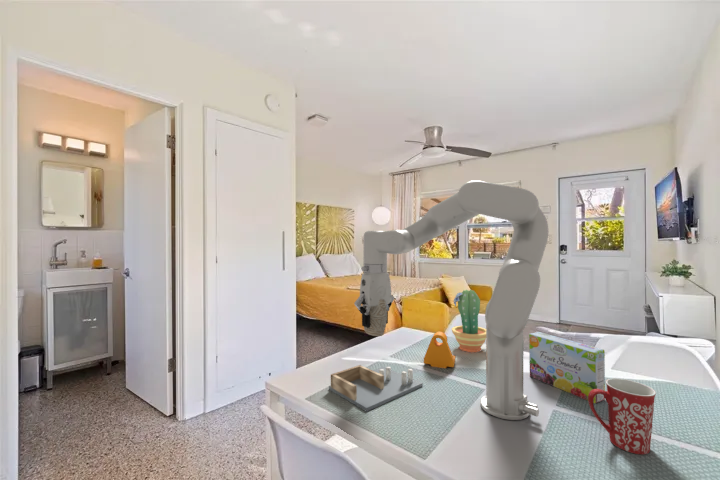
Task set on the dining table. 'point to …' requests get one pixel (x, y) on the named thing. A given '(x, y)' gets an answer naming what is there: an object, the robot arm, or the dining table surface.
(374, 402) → the board
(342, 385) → the end holder
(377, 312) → the carving
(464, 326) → the potted cactus
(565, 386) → the snack box
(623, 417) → the mug
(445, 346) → the bracket
